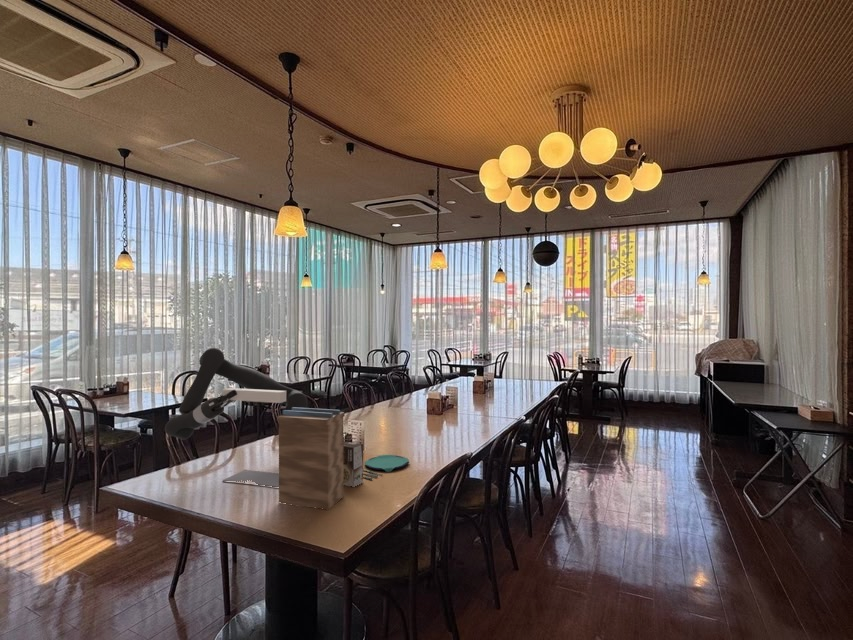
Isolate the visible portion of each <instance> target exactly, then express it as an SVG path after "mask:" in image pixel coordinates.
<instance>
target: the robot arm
mask: <svg viewBox="0 0 853 640" xmlns="http://www.w3.org/2000/svg"><path fill="white" fill-rule="evenodd" d="M199 365H200V367H199V369H198V372H197V374H196V376H195V378H194V380H193V381H192V383H191V385H190V386H189V388H188V390H187V392H186V394H185V395H184V398H183V400H182V402H181V404H180V405H179V408H178V412H179V413H180V415H177V416H174V417H172V418H171V419H169V420H168V421H167V422H166V424H165V426H164V432H165V433H166V434H167V435H169V436H171V437H174V438H176V439H179V440H183V441H185V440H188V439H189V438H190V437H191V436H192V435H193V434H194V431H195V429H197V428H200V427H201V426H202V425H204V424H206V423H208V422H210V421H212V420H213V419H215V418H217V417H219V416H220V415H221V414H223V412H224V410H225V407H226V408H227V406H229V405H230V404H232V403H233V404H234V403H235V402H237V400H229V399H231V398H232V397H234V396H235V395H237V392H236V390H232V391H231V392H229V393H228V394H225V395H219V396H218V397H215V396H212V397H210V398H208V399H207V400H205V401H204V402H203V400H204V398H205V397H206V394H207V392H208V389H209V386H210V385H211V382H212V381H213V378H214V376H215V375H218V376H220V377H224V378H226V379H228V380H229V381H232V382H233V383H235V384H237V385H239V386H241V388H240V389H260V390H280V391H286V401H285V402H282V403H281V404H283V405H285V406H286V407H287V409H286V410H292V408H293V407H298V408H308V398H307V396H306V395H305V393H304V392H302V391H300V390H297V389H293V388H290V387H288V386H286V385H283V384H281V383H280V382H278V381H277V380H275V379H273V378H272V377H270V376H268V375H267V374H265V373H263V372H260V371H259V370H256V369H254V368H251V367H248V366H243V365H240V364H236V363H233V362H231V361H229V360H228V359H226V358H225V354H224V351H222V350H221V349H219V348H217V347H211V348H208V349H207V350H205V351H204V352H203V353H202V354H201V355H200V357H199Z"/></svg>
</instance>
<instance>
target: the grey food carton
mask: <svg viewBox="0 0 853 640" xmlns="http://www.w3.org/2000/svg"><path fill="white" fill-rule="evenodd" d="M363 470H364V444H363V443H359V442H353V441H343V486H346V487H350V486H352V487H351V488H355V486H356V487H357V485H358V486H359V484H360V485H362V484H364V478H363V477H364V474H363V473H364V471H363ZM361 483H362V484H361Z"/></svg>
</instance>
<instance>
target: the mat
mask: <svg viewBox="0 0 853 640" xmlns="http://www.w3.org/2000/svg"><path fill="white" fill-rule="evenodd" d="M222 480H223V481H236V482H237V481H238V482H239V481H240V482H241V480H242V482H243V481H244V483H245V481H246V482H247V480H248V481H249V480H250V481H251V480H252V482H255V483H256V484H258V485H265V486H272V487H279V472H270V471H260V470H251V469H244V470H241V471H239V472H237V473H235V474H233V475H231V476H229V477H226V478H225V479H222Z"/></svg>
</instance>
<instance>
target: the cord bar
mask: <svg viewBox="0 0 853 640" xmlns="http://www.w3.org/2000/svg"><path fill="white" fill-rule="evenodd" d="M232 390H236V392H237V395H235V396H234V397H232V398H231V399H229V400H237V401H241V402H257V403H273V404H283V403H282V402H285V401H286V391H280V390H260V389H247V388H243V389H241V388H240V387H239V388H234V387H228V388H222V395H225V394H228V393H229V392H231V391H232ZM237 401H236V402H237Z"/></svg>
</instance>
